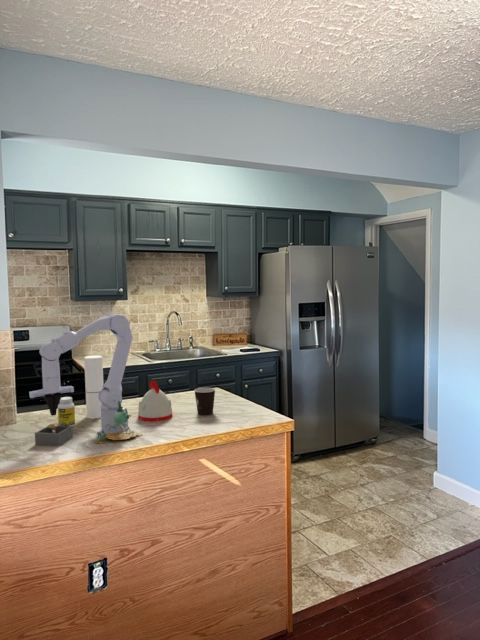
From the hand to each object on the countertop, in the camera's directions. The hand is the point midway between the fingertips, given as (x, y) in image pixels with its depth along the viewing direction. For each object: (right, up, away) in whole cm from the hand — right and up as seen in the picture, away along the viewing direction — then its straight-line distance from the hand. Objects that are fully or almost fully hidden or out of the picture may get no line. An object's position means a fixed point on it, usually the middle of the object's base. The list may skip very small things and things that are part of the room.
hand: (53, 414), depth 172 cm
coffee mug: (+51, -6, +35) cm, 62 cm away
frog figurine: (+22, -9, +4) cm, 24 cm away
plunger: (0, -10, +1) cm, 10 cm away
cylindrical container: (+6, -7, +31) cm, 32 cm away
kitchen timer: (+31, -7, +30) cm, 43 cm away
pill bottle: (-2, -8, +18) cm, 20 cm away
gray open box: (0, -10, +1) cm, 10 cm away
